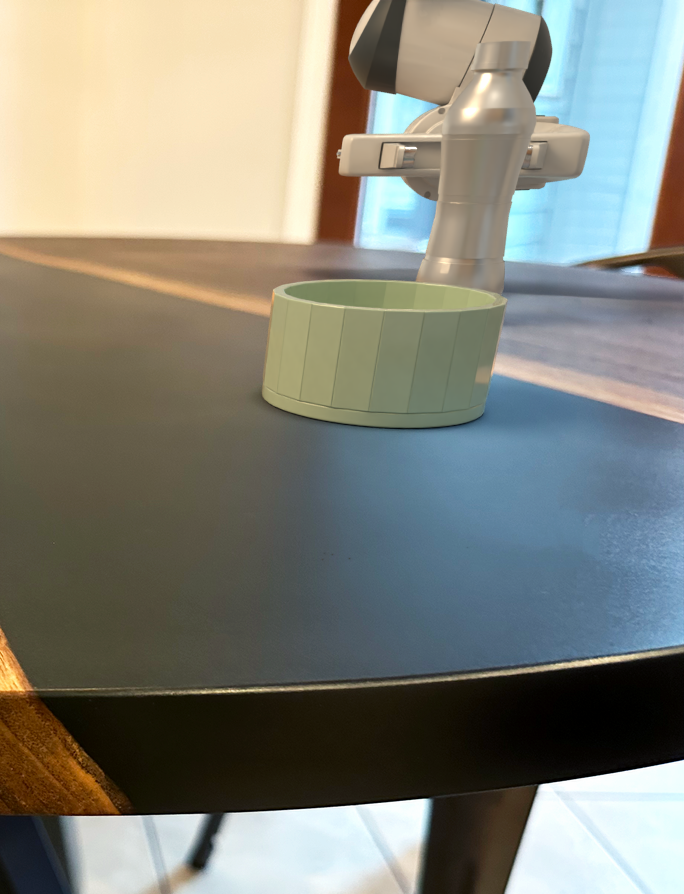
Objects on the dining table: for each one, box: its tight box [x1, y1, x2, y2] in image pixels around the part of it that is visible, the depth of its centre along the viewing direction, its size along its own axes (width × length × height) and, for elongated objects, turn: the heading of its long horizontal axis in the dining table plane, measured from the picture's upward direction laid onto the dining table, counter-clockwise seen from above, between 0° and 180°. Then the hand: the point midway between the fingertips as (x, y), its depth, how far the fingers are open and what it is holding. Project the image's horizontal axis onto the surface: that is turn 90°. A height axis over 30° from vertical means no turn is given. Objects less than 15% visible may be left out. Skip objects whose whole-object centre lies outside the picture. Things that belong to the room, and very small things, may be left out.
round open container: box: [261, 278, 509, 429], centre depth 57 cm, size 12×12×6 cm
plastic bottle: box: [414, 41, 537, 296], centre depth 78 cm, size 6×7×20 cm
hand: (466, 156), depth 87 cm, fingers open, 8 cm apart
